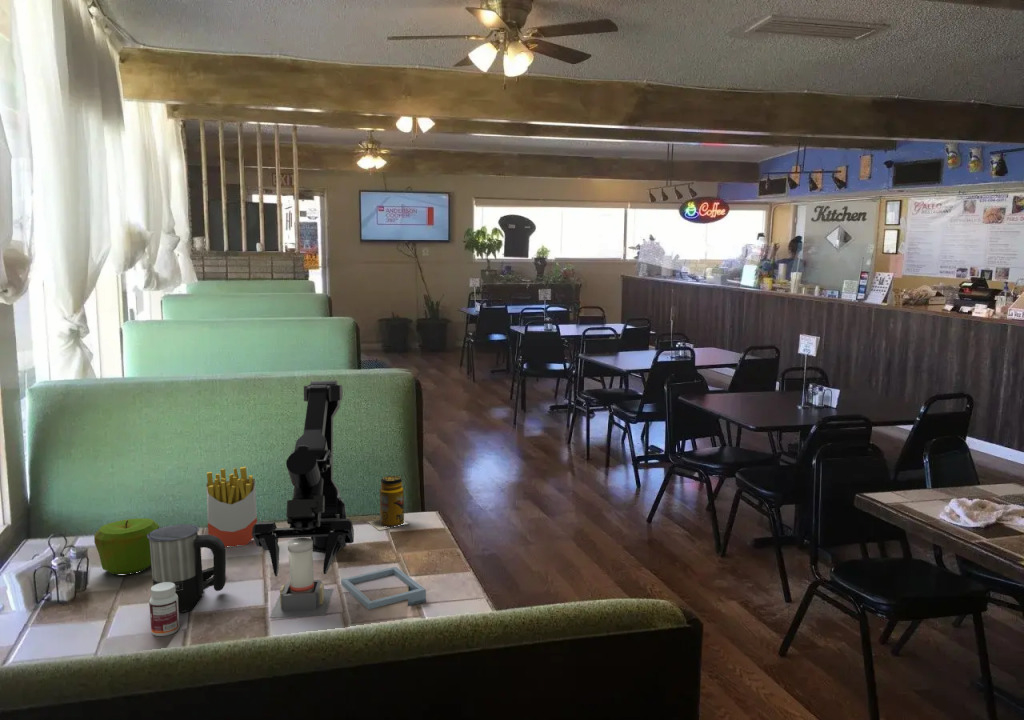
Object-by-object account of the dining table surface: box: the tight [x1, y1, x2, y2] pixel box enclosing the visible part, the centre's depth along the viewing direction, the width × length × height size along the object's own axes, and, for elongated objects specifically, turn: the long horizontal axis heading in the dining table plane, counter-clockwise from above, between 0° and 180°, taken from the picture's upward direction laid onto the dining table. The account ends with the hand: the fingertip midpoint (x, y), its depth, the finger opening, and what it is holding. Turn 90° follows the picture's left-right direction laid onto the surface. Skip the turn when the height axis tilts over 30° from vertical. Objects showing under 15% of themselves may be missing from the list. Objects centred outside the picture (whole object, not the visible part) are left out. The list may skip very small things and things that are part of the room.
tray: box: [340, 566, 427, 610], centre depth 153 cm, size 14×12×2 cm
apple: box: [93, 517, 160, 575], centre depth 167 cm, size 12×12×11 cm
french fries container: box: [205, 466, 258, 548], centre depth 183 cm, size 5×11×18 cm, turn 109°
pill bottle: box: [148, 582, 181, 637], centre depth 139 cm, size 5×5×8 cm
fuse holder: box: [269, 579, 334, 619], centre depth 147 cm, size 12×10×5 cm
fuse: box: [287, 537, 315, 594], centre depth 147 cm, size 5×5×12 cm
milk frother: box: [147, 523, 227, 614], centre depth 153 cm, size 14×16×15 cm
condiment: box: [368, 475, 405, 531], centre depth 197 cm, size 7×8×12 cm
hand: (300, 574), depth 145 cm, fingers open, 9 cm apart
